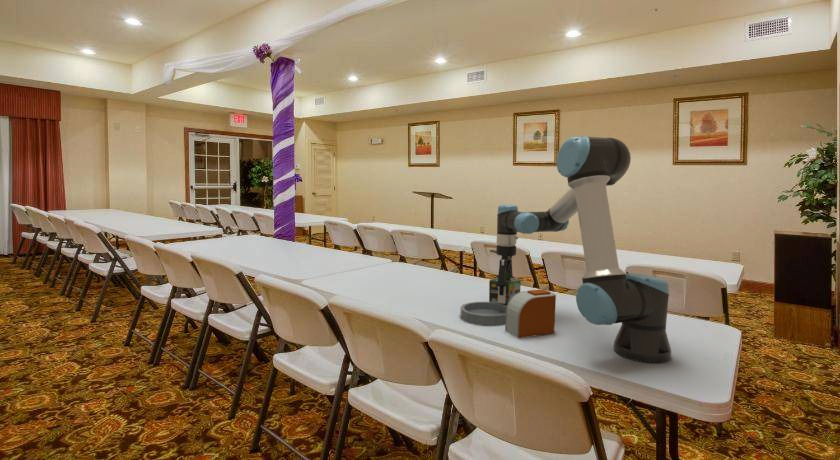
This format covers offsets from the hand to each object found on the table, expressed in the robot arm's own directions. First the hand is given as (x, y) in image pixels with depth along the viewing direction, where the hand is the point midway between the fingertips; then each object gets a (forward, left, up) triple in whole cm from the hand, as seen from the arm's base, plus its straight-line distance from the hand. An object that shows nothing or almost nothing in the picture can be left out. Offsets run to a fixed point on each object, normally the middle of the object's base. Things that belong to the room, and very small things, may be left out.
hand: (504, 298), depth 181 cm
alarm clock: (-25, -13, -4) cm, 28 cm away
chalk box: (0, 0, -4) cm, 4 cm away
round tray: (-15, +4, -4) cm, 16 cm away
